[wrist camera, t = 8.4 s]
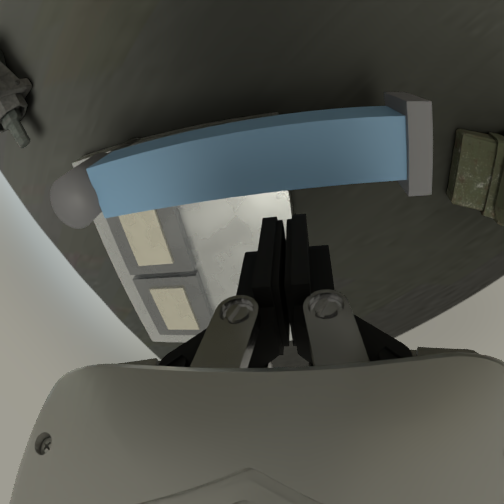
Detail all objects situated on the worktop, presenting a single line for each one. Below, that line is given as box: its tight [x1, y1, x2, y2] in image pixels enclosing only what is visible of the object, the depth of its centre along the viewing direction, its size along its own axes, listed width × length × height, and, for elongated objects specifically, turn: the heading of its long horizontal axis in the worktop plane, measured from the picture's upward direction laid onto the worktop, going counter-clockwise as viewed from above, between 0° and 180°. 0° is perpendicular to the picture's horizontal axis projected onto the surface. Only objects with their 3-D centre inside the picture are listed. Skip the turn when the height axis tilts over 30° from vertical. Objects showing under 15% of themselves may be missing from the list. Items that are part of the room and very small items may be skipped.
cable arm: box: [50, 92, 433, 229], centre depth 15 cm, size 20×4×4 cm, turn 101°
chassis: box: [72, 112, 293, 342], centre depth 25 cm, size 20×16×5 cm
